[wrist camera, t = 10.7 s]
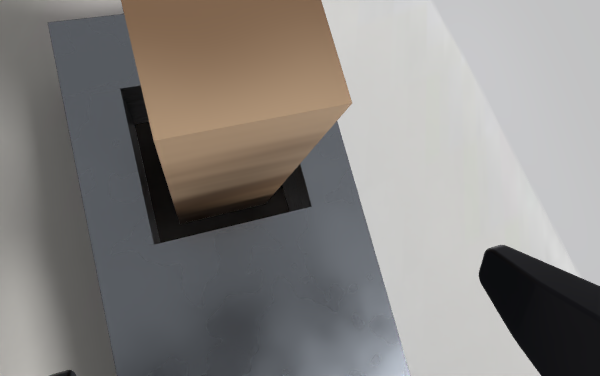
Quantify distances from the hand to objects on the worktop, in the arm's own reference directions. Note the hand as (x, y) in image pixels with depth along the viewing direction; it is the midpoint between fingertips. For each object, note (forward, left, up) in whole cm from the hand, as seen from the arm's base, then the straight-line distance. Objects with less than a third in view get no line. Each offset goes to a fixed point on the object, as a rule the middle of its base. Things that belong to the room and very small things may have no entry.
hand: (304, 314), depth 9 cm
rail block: (+1, 0, -11) cm, 11 cm away
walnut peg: (+6, -2, -11) cm, 13 cm away
